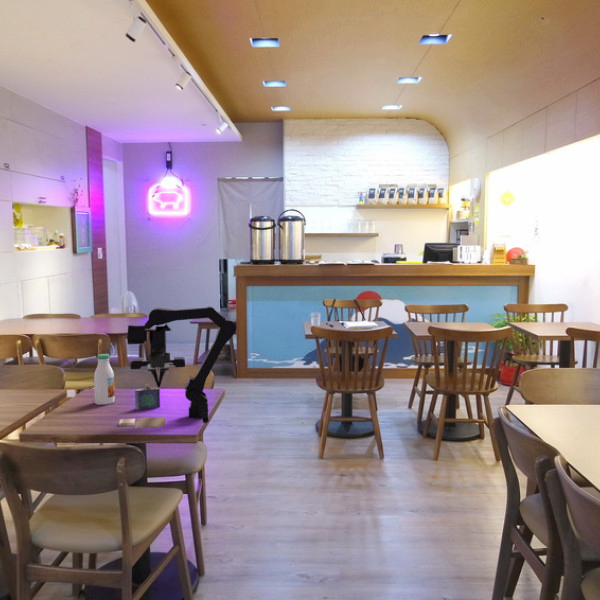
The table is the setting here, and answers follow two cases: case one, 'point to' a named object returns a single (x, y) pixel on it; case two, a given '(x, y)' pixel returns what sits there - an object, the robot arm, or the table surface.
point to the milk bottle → (104, 381)
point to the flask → (147, 398)
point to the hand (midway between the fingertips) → (158, 386)
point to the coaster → (126, 422)
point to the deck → (150, 422)
